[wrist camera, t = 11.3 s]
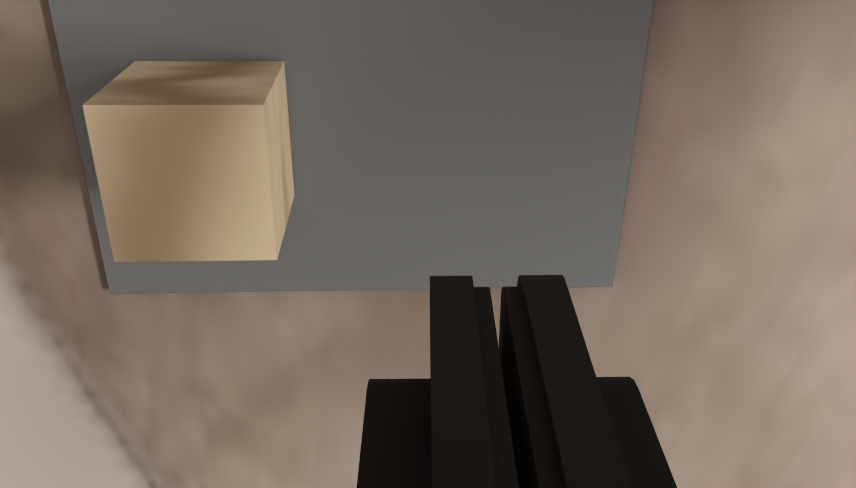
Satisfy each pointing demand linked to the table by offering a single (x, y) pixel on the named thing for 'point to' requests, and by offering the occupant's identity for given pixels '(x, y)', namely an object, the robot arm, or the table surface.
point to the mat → (402, 133)
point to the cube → (193, 160)
